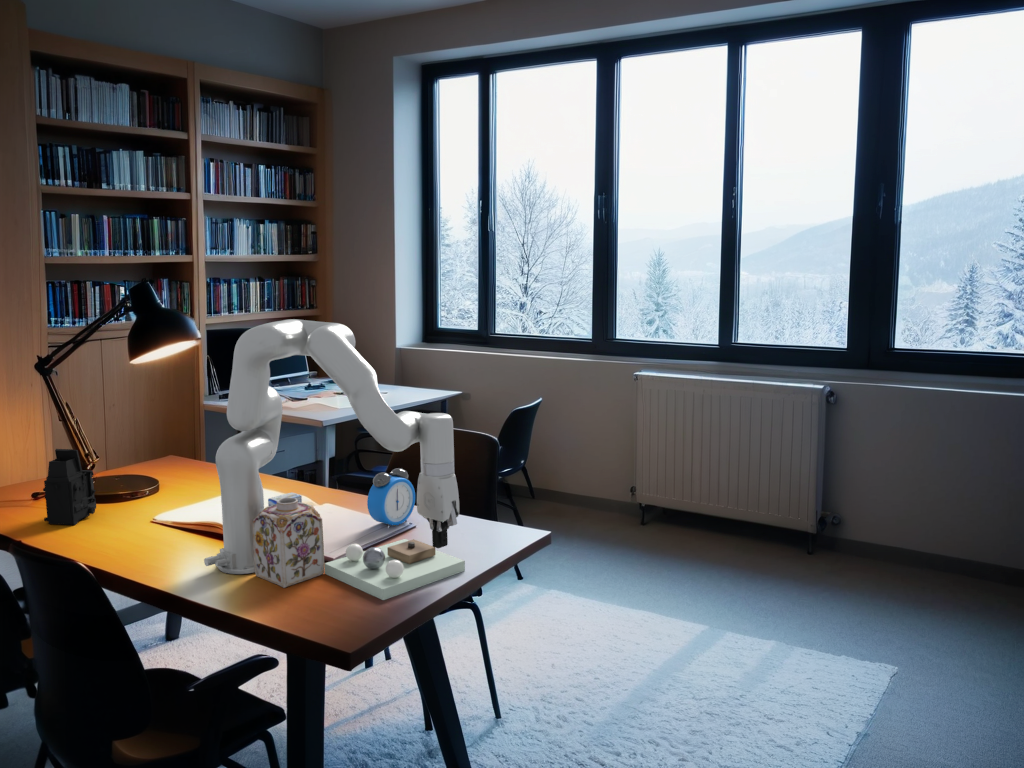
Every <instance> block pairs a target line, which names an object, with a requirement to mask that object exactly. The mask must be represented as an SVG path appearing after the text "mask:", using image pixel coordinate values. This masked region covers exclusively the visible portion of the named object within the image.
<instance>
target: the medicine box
mask: <svg viewBox="0 0 1024 768" xmlns="http://www.w3.org/2000/svg"><path fill="white" fill-rule="evenodd" d="M302 497H303V495H301V494H298V493H296V492H288V493H284V494H283V493H282V494H281V495H276V496H272V497H269V498H268V499H267V507H268V506H272V505H275V504H277V500H279V499H281V498H296V499H297V500H298V503H303V502H302V501H303V498H302Z"/></svg>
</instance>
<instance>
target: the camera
mask: <svg viewBox="0 0 1024 768" xmlns="http://www.w3.org/2000/svg"><path fill="white" fill-rule="evenodd" d="M54 453H55V457H56V458H55V459H54V460H53V459H52V460H49V461H48V468H47V469H48V471H47V476H46V478H45V480H44V481H43V482H44V483H43V484H44V487H43V488H42V491H43V492H44V499H45V506H46V507H45V508H46V509H45V510H46V516H47V517H44V518H43V521H44V522H47V523H48V524H49V525H64V526H65V525H67V526H76V525H78V522H81V520H84V519H85V518H87V517H89V516H90V515H94V514H95V511H96V509H97V502H96V497H95V493H96V489H95V487H94V485H95V484H94V478H95V476H94V471H93V470H83V468H82V465H81V459H80V456H79V451H78V449H71V448H68V449H66V448H64V449H63V448H55V450H54Z"/></svg>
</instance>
